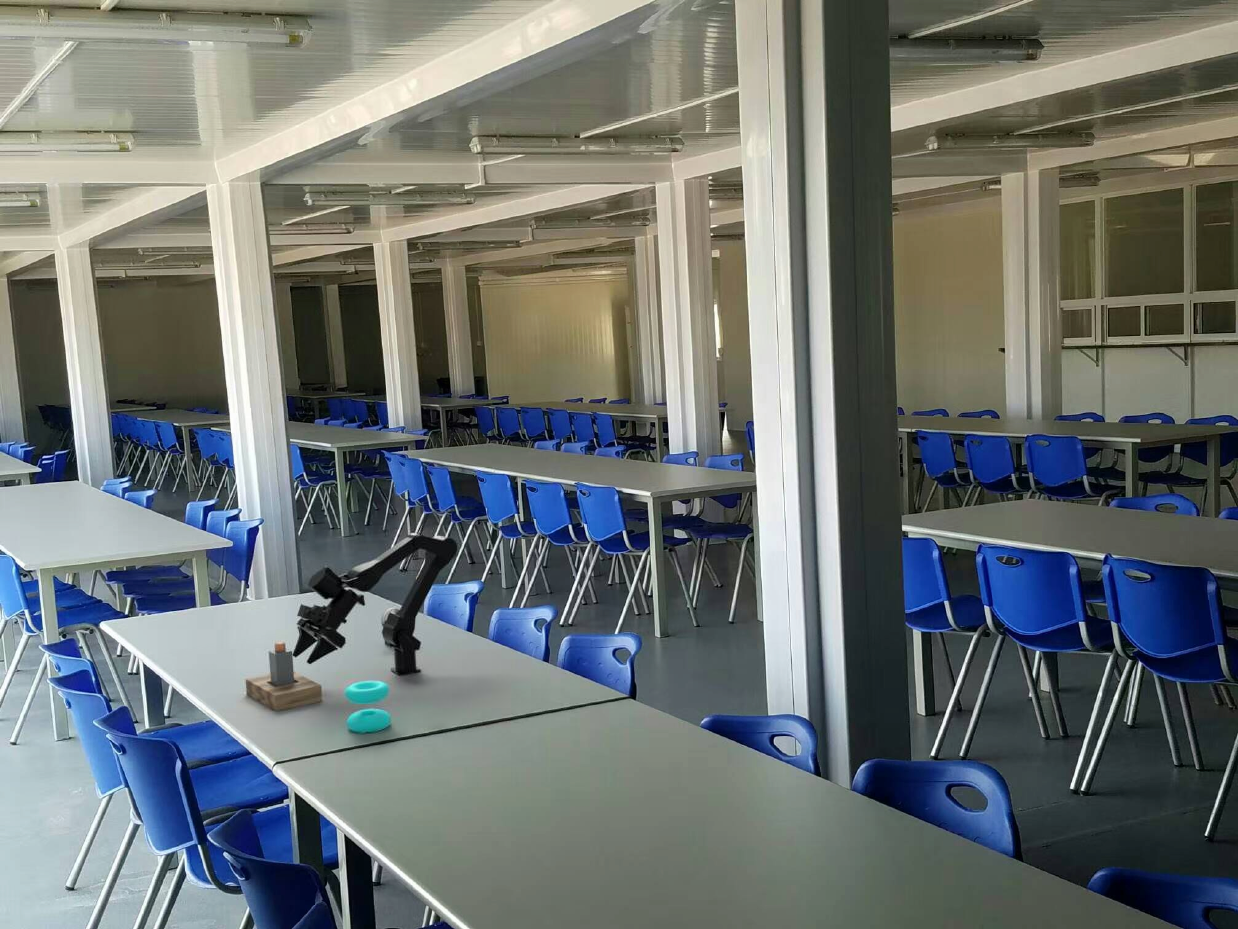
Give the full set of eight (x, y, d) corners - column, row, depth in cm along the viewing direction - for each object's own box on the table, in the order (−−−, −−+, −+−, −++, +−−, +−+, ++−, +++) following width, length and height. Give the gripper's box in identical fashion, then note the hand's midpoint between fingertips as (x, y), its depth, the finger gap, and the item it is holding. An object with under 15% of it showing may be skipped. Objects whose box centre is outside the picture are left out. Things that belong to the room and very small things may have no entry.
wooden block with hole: (322, 700, 306) (321, 685, 305) (276, 711, 299) (274, 695, 298) (291, 684, 322) (290, 669, 321) (246, 694, 315) (245, 679, 314)
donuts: (386, 677, 288) (390, 688, 279) (389, 718, 289) (393, 731, 280) (343, 682, 286) (345, 693, 276) (346, 723, 287) (348, 736, 277)
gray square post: (288, 690, 313) (284, 640, 312) (295, 693, 310) (291, 643, 308) (271, 693, 311) (268, 643, 309) (278, 697, 307) (274, 646, 306)
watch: (412, 643, 361) (410, 606, 360) (388, 648, 356) (386, 611, 354) (403, 640, 365) (401, 604, 364) (379, 645, 360) (377, 608, 359)
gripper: (301, 587, 321) (263, 636, 316) (330, 597, 306) (291, 649, 301) (331, 611, 327) (295, 659, 321) (361, 622, 312) (324, 673, 307)
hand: (300, 659), depth 312 cm, fingers open, 9 cm apart
